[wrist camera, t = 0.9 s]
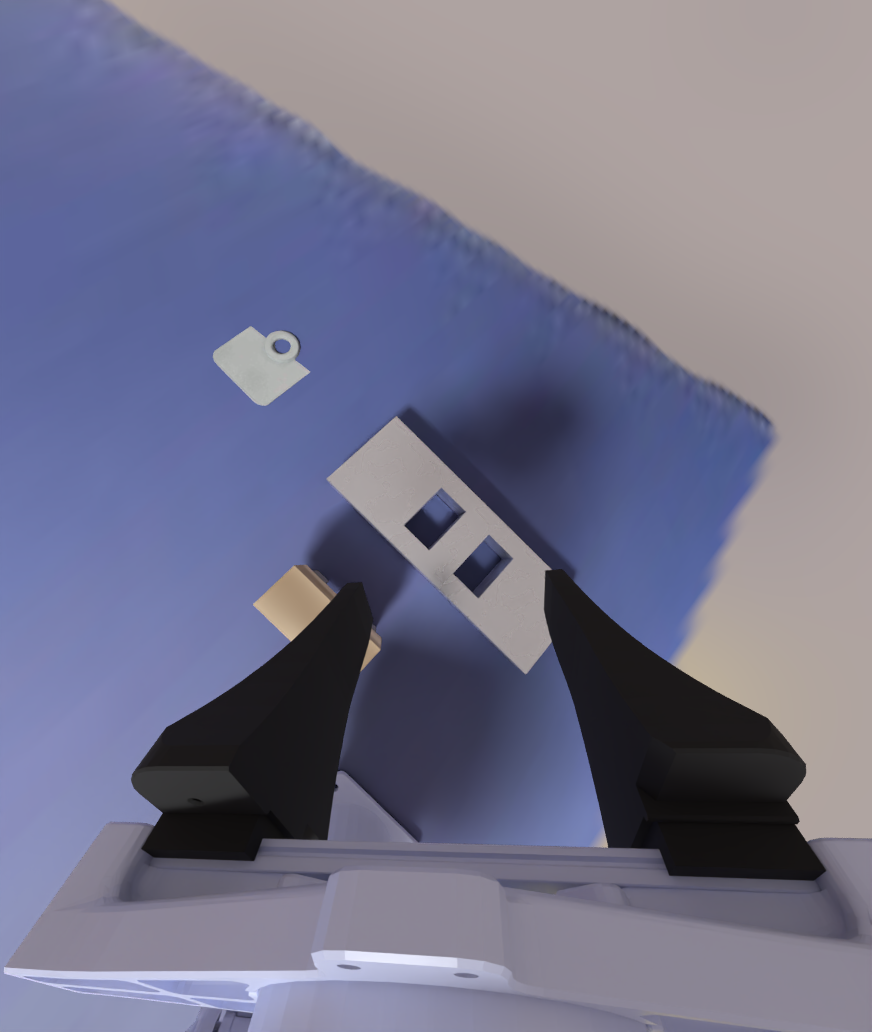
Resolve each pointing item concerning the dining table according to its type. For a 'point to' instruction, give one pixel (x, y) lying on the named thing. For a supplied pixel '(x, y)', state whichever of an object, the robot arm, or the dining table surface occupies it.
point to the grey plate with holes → (450, 539)
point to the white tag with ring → (261, 364)
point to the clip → (303, 604)
